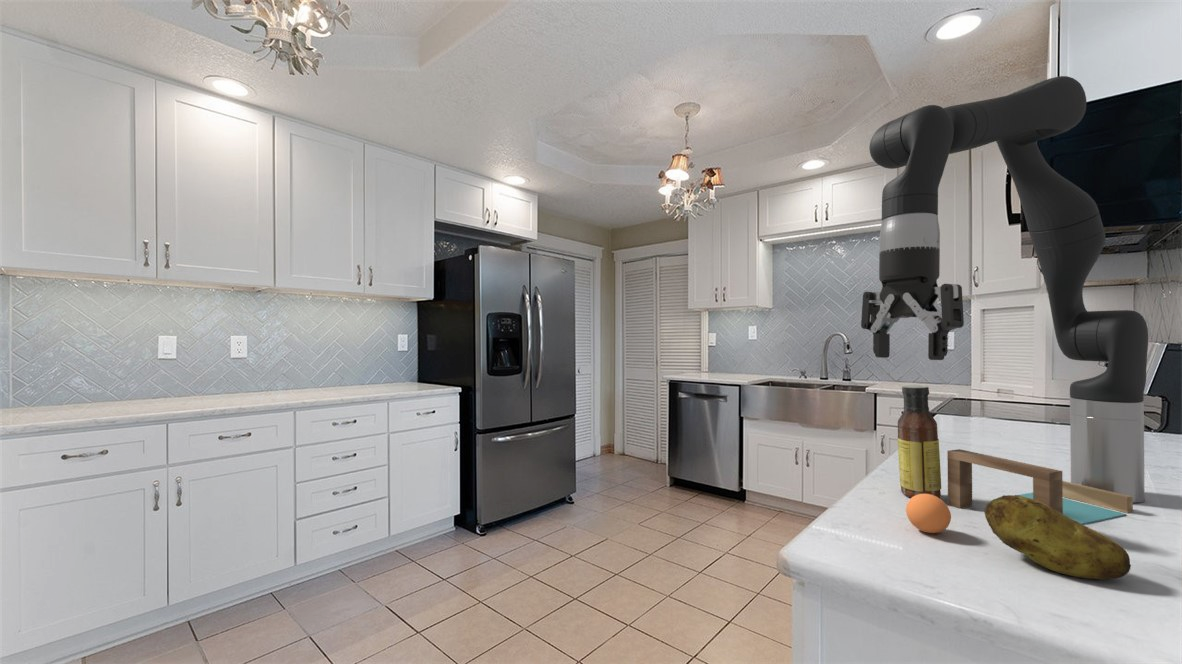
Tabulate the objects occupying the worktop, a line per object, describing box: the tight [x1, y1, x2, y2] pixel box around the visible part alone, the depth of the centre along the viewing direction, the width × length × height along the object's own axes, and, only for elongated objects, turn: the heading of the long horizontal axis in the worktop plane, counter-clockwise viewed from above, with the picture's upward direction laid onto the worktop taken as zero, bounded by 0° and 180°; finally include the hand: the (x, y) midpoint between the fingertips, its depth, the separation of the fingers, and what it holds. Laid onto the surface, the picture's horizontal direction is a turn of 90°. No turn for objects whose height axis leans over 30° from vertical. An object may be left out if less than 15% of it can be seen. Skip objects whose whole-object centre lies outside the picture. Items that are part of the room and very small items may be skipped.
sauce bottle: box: [897, 384, 942, 499], centre depth 89 cm, size 6×6×20 cm
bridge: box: [946, 448, 1064, 514], centre depth 78 cm, size 3×14×9 cm, turn 19°
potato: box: [984, 494, 1132, 580], centre depth 62 cm, size 8×13×8 cm, turn 27°
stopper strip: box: [1062, 480, 1134, 514], centre depth 86 cm, size 2×11×2 cm, turn 19°
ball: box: [905, 494, 952, 534], centre depth 73 cm, size 6×6×6 cm
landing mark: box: [992, 492, 1127, 525], centre depth 83 cm, size 12×12×1 cm
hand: (907, 358), depth 73 cm, fingers open, 8 cm apart
